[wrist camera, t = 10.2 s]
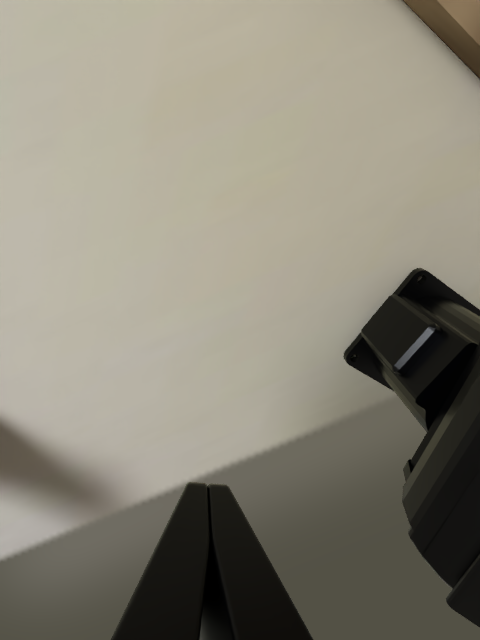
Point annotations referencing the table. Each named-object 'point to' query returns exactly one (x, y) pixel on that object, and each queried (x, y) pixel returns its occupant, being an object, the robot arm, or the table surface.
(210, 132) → the table surface
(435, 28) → the brown cutting board
